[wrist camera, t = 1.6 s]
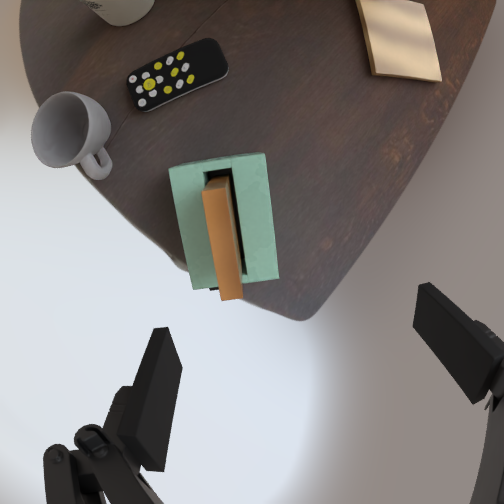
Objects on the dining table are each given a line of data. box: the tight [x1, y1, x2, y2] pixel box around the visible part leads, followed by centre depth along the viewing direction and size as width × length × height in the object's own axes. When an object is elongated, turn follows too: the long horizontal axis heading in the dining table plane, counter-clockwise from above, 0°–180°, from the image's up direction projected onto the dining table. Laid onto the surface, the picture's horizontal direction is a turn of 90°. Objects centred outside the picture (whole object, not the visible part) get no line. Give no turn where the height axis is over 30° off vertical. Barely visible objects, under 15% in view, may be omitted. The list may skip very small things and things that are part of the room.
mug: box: [31, 91, 112, 180], centre depth 30 cm, size 12×9×10 cm
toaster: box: [169, 152, 279, 291], centre depth 35 cm, size 10×16×8 cm, turn 7°
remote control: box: [127, 38, 228, 112], centre depth 31 cm, size 6×13×2 cm, turn 112°
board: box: [355, 0, 442, 83], centre depth 30 cm, size 14×12×2 cm
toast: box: [201, 174, 243, 301], centre depth 31 cm, size 2×10×12 cm, turn 7°
